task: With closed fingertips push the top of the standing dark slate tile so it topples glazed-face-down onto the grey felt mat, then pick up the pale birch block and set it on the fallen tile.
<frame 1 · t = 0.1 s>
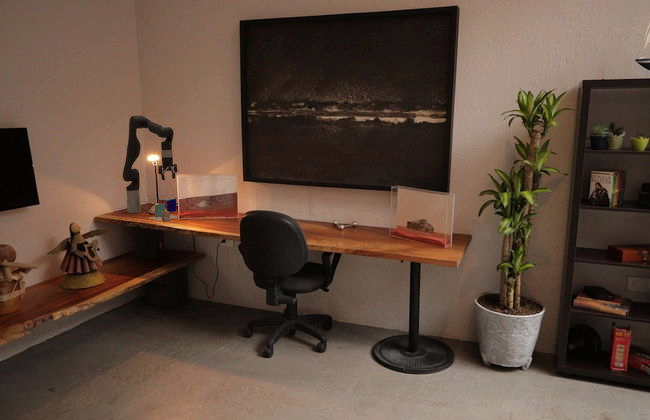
hand: (168, 179, 366), 29 cm above the table, tool pointing down, fingers open, 8 cm apart
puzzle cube: (167, 211, 401), on the table
tile: (160, 216, 382), resting on mat
mat: (163, 217, 378), on the table
block: (166, 221, 368), on the table
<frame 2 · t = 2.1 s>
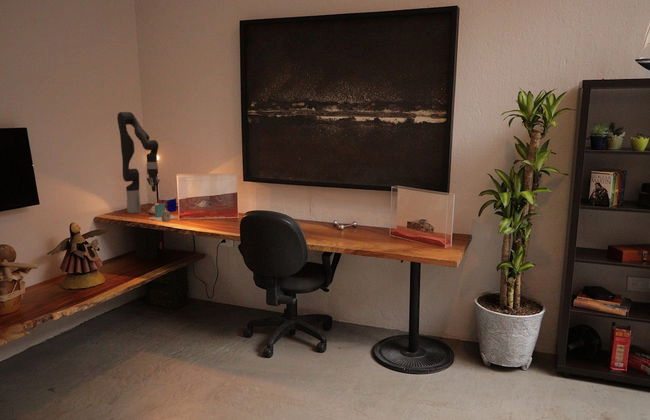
hand: (153, 191, 382), 18 cm above the table, tool pointing down, fingers closed
nothing on the table moved.
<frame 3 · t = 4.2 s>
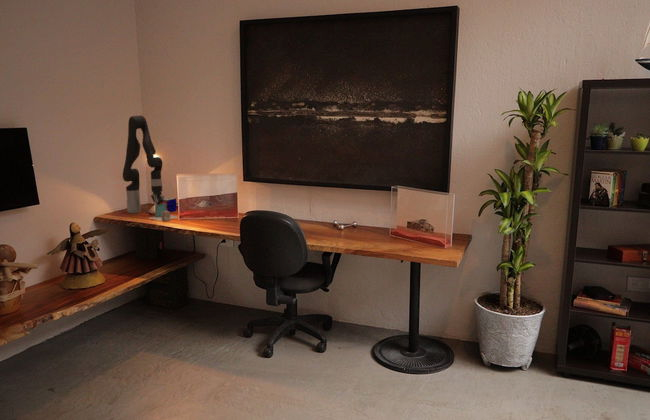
hand: (158, 208, 382), 6 cm above the table, tool pointing down, fingers closed
tile: (160, 216, 382), resting on mat, tilted 8°
everything else where it was.
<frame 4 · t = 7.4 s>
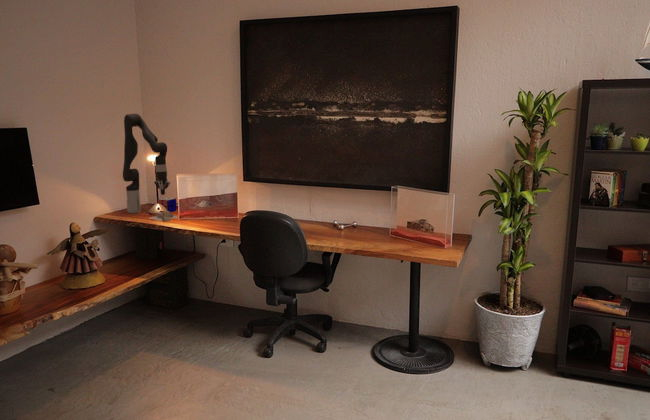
hand: (163, 194, 375), 17 cm above the table, tool pointing down, fingers closed
tile: (161, 215, 381), point 1 cm above the table, tilted 90°, touching mat
everything else where it was.
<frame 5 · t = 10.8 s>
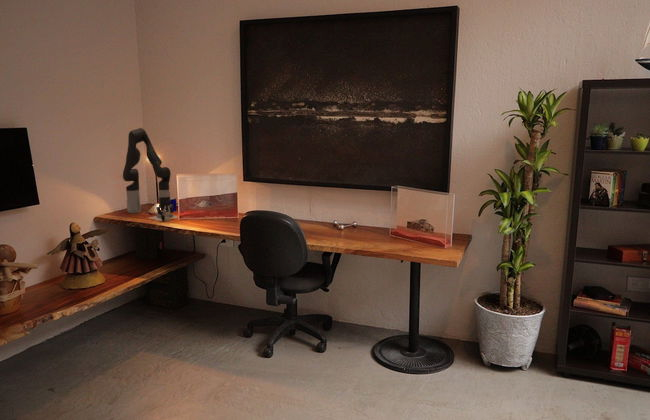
hand: (166, 219, 368), 1 cm above the table, tool pointing down, fingers closed on block, 4 cm apart
block: (166, 221, 368), on the table, touching gripper
everything else where it was.
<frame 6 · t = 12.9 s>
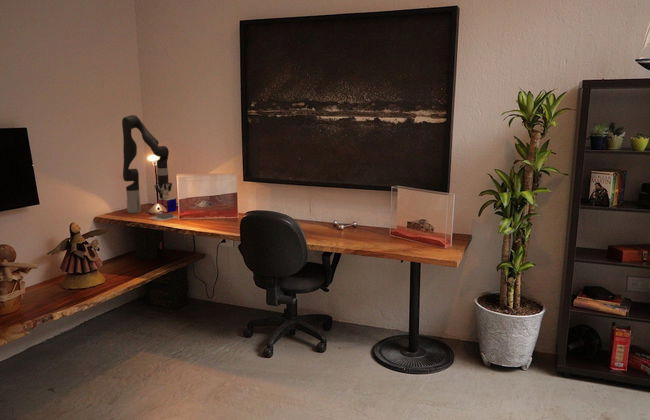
hand: (164, 197, 376), 15 cm above the table, tool pointing down, fingers closed on block, 4 cm apart
block: (164, 199, 376), point 14 cm above the table, touching gripper
everything else where it was.
when the fingers open (5 cm above the table, at t = 15.2 s): block drops 1 cm, resting on tile.
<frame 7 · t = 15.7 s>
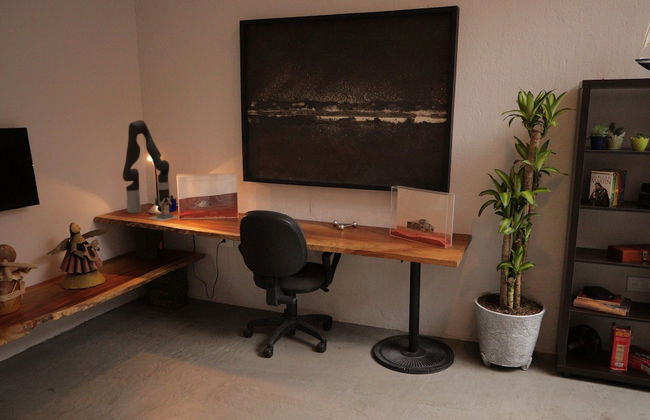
hand: (165, 210, 377), 5 cm above the table, tool pointing down, fingers open, 8 cm apart
tile: (161, 215, 381), point 1 cm above the table, tilted 90°, touching block, mat
block: (165, 214, 378), point 2 cm above the table, touching tile
everything else where it was.
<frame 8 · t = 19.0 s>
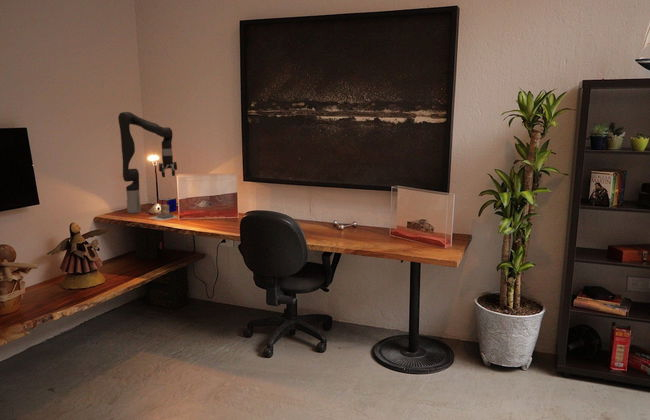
hand: (168, 176, 388), 28 cm above the table, tool pointing down, fingers open, 8 cm apart
nothing on the table moved.
at the end: tile tilted 90°; tile inside the target area (4.6 cm from its centre), point 1.4 cm above the table; block 5.1 cm from the tile (horizontally) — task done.
